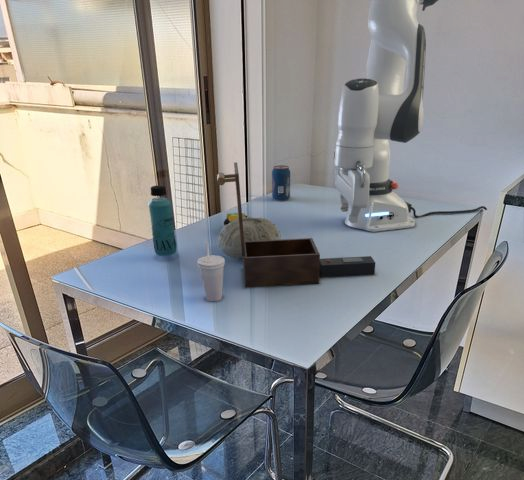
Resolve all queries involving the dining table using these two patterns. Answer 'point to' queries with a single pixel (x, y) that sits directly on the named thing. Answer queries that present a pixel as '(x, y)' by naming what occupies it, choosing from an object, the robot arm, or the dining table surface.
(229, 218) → the gadget
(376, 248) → the dining table surface
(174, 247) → the beverage bottle
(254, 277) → the chest
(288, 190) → the soda can
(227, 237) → the decorative shell
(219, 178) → the lid
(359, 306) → the dining table surface
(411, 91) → the robot arm
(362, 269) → the remote
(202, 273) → the smoothie
